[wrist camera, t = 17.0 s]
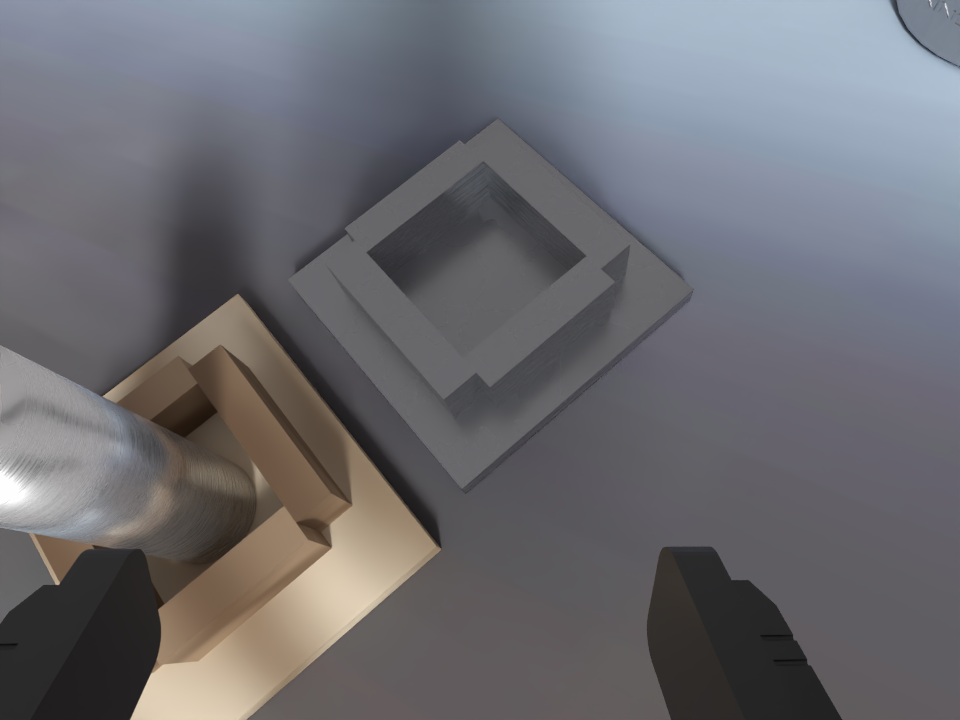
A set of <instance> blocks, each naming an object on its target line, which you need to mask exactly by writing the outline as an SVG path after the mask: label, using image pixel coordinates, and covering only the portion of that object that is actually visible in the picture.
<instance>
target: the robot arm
mask: <svg viewBox="0 0 960 720" xmlns="http://www.w3.org/2000/svg"><path fill="white" fill-rule="evenodd" d="M896 1H897V5H898V10H899V14H900V15H901V17H902V19H903V21H904V23H905V25H906V26H907V28H908V29H909V31H910V32H911V33H912V34H913V35H914V36H915V37H916V38H917V39H918V41H919V42H920V43H921V44H923V45H924V46H925V47H927V48H928V49H929V50H931V51H932V52H934V53H935V54H936V55H938V56H940V57H942V58H943V59H945V60H947V61H949V62H951V63H953V64H955V65H957V66H960V0H896ZM647 637H648V646H649V651H650V656H651V659H652V663H653V666H654V669H655V672H656V675H657V678H658V681H659V684H660V687H661V690H662V693H663V696H664V699H665V702H666V705H667V708H668V711H669V714H670V717H671V720H842V719H841V717H840V715H839V714H838V712H837V710H836V708H835V707H834V705H833V703H832V701H831V700H830V698H829V696H828V695H827V693H826V691H825V689H824V688H823V686H822V684H821V682H820V681H819V679H818V677H817V675H816V674H815V672H814V670H813V668H812V667H811V666H808V664H807V658H806V656H805V655H804V653H803V651H802V649H801V648H800V646H799V644H798V642H797V641H794V640H793V634H792V632H791V630H790V629H789V627H788V625H787V623H786V622H785V620H784V618H783V616H782V615H781V613H780V611H779V609H778V608H777V606H776V605H775V604H774V603H773V602H772V601H771V600H770V599H769V598H768V597H766V596H765V595H764V594H763V593H762V592H761V591H760V590H759V589H758V588H757V587H755V586H754V585H753V584H752V583H751V582H750V581H749V580H731V578H730V576H729V575H728V573H727V571H726V569H725V567H724V565H723V563H722V561H721V559H720V557H719V555H718V554H717V552H716V551H715V550H714V549H713V548H712V547H664V548H663V549H662V550H661V552H660V555H659V560H658V565H657V570H656V576H655V581H654V586H653V592H652V597H651V602H650V608H649V613H648V620H647ZM160 642H161V621H160V616H159V612H158V608H157V603H156V599H155V594H154V590H153V585H152V581H151V577H150V572H149V568H148V563H147V559H146V556H145V554H144V552H143V551H142V550H141V549H87V550H85V551H83V552H82V553H81V554H80V555H79V556H78V558H77V559H76V561H75V562H74V564H73V565H72V566H71V568H70V569H69V571H68V572H67V574H66V575H65V577H64V578H63V579H62V581H61V582H60V584H59V585H43V586H42V587H41V588H39V589H38V590H37V591H35V592H34V593H33V594H32V595H30V596H29V597H28V598H27V599H25V600H24V601H23V602H21V603H20V604H19V605H18V606H16V607H15V608H14V609H12V610H11V611H10V612H9V613H8V614H7V616H6V617H5V618H4V620H3V621H2V622H1V624H0V720H130V719H131V717H132V715H133V712H134V710H135V708H136V706H137V704H138V701H139V699H140V697H141V695H142V692H143V690H144V688H145V686H146V684H147V681H148V679H149V677H150V675H151V673H152V670H153V668H154V666H155V663H156V660H157V657H158V653H159V648H160Z"/></svg>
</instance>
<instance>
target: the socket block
mask: <svg viewBox="0 0 960 720" xmlns="http://www.w3.org/2000/svg"><path fill="white" fill-rule="evenodd" d="M344 229H345V231H346V232H347V235H345V236H344V237H343V238H341V239H340V240H339V241H338V242H336V243H335V244H334V245H332V246H331V247H330V248H328V249H327V250H326V251H325V252H323V253H322V254H321V255H319V256H318V257H317V258H315V259H314V260H313V261H311V262H310V263H309V264H308V265H306V266H305V267H304V268H302V269H301V270H300V271H298V272H297V273H296V274H295V275H293V276H292V277H291V278H289V279H288V281H289V283H290V284H291V285H292V286H293V287H294V289H295V290H296V291H297V292H298V294H299V295H300V296H301V297H302V298H303V300H304V301H305V302H306V303H307V304H308V306H309V307H310V308H311V309H312V310H313V312H314V313H315V314H316V315H317V316H318V318H319V319H320V320H321V321H322V322H323V324H324V325H325V326H326V327H327V328H328V330H329V331H330V332H331V333H332V334H333V336H334V337H335V338H336V339H337V340H338V342H339V343H340V344H341V345H342V346H343V348H344V349H345V350H346V351H347V352H348V354H349V355H350V356H351V357H352V358H353V360H354V361H355V362H356V363H357V364H358V366H359V367H360V368H361V369H362V370H363V371H364V373H365V374H366V375H367V376H368V377H369V379H370V380H371V381H372V382H373V383H374V385H375V386H376V387H377V388H378V389H379V391H380V392H381V393H382V394H383V395H384V397H385V398H386V399H387V400H388V401H389V403H390V404H391V405H392V406H393V407H394V409H395V410H396V411H397V412H398V413H399V415H400V416H401V417H402V418H403V419H404V421H405V422H406V423H407V424H408V425H409V427H410V428H411V429H412V430H413V431H414V433H415V434H416V435H417V436H418V437H419V439H420V440H421V441H422V442H423V443H424V445H425V446H426V447H427V448H428V449H429V451H430V452H431V453H432V454H433V455H434V457H435V458H436V459H437V460H438V461H439V463H440V464H441V465H442V466H443V467H444V469H445V470H446V471H447V472H448V473H449V475H450V476H451V477H452V478H453V479H454V481H455V482H456V483H457V484H458V485H459V487H460V488H461V489H462V490H463V491H464V493H465V494H466V493H467V492H468V491H470V490H471V489H472V488H473V487H474V486H475V485H476V484H478V483H479V482H480V481H481V480H482V479H483V478H485V477H486V476H487V475H488V474H489V473H490V472H492V471H493V470H494V469H495V468H496V467H497V466H498V465H500V464H501V463H502V462H503V461H504V460H505V459H507V458H508V457H509V456H510V455H511V454H512V453H514V452H515V451H516V450H517V449H518V448H519V447H520V446H522V445H523V444H524V443H525V442H526V441H527V440H529V439H530V438H531V437H532V436H533V435H534V434H536V433H537V432H538V431H539V430H540V429H541V428H542V427H544V426H545V425H546V424H547V423H548V422H549V421H551V420H552V419H553V418H554V417H555V416H556V415H558V414H559V413H560V412H561V411H562V410H563V409H564V408H566V407H567V406H568V405H569V404H570V403H571V402H573V401H574V400H575V399H576V398H577V397H578V396H580V395H581V394H582V393H583V392H584V391H585V390H586V389H588V388H589V387H590V386H591V385H592V384H593V383H595V382H596V381H597V380H598V379H599V378H600V377H602V376H603V375H604V374H605V373H606V372H607V371H608V370H610V369H611V368H612V367H613V366H614V365H615V364H617V363H618V362H619V361H620V360H621V359H622V358H624V357H625V356H626V355H627V354H628V353H629V352H630V351H632V350H633V349H634V348H635V347H636V346H637V345H639V344H640V343H641V342H642V341H643V340H644V339H646V338H647V337H648V336H649V335H650V334H651V333H652V332H654V331H655V330H656V329H657V328H658V327H659V326H661V325H662V324H663V323H664V322H665V321H666V320H668V319H669V318H670V317H671V316H672V315H673V314H674V313H676V312H677V311H678V310H679V309H680V308H681V307H683V306H684V305H685V304H686V303H687V302H688V301H690V298H691V296H692V293H693V290H694V289H693V288H692V287H691V286H690V285H688V284H687V283H686V282H685V281H684V280H683V279H682V278H680V277H679V276H678V275H677V274H676V273H675V272H674V271H672V270H671V269H670V268H669V267H668V266H667V265H666V264H664V263H663V262H662V261H661V260H660V259H659V258H657V257H656V256H655V255H654V254H653V253H652V252H651V251H649V250H648V249H647V248H646V247H645V246H644V245H643V244H641V243H640V242H639V241H638V240H637V239H636V238H635V237H633V236H632V235H631V234H630V233H629V232H628V231H627V230H625V229H624V228H623V227H622V226H621V225H620V224H619V223H617V222H616V221H615V220H614V219H613V218H612V217H610V216H609V215H608V214H607V213H606V212H605V211H604V210H602V209H601V208H600V207H599V206H598V205H597V204H596V203H594V202H593V201H592V200H591V199H590V198H589V197H588V196H586V195H585V194H584V193H583V192H582V191H581V190H580V189H578V188H577V187H576V186H575V185H574V184H573V183H572V182H570V181H569V180H568V179H567V178H566V177H565V176H563V175H562V174H561V173H560V172H559V171H558V170H557V169H555V168H554V167H553V166H552V165H551V164H550V163H549V162H547V161H546V160H545V159H544V158H543V157H542V156H541V155H539V154H538V153H537V152H536V151H535V150H534V149H533V148H531V147H530V146H529V145H528V144H527V143H526V142H525V141H523V140H522V139H521V138H520V137H519V136H518V135H516V134H515V133H514V132H513V131H512V130H511V129H510V128H508V127H507V126H506V125H505V124H504V123H503V122H502V121H500V120H499V119H496V120H495V121H494V122H493V123H491V124H490V125H489V126H487V127H486V128H485V129H483V130H482V131H481V132H480V133H478V134H477V135H476V136H474V137H473V138H472V139H470V140H469V141H468V142H467V143H465V144H464V143H463V142H462V141H461V140H459V141H458V142H457V143H455V144H454V145H453V146H451V147H450V148H449V149H447V150H446V151H445V152H444V153H442V154H441V155H440V156H438V157H437V158H436V159H434V160H433V161H432V162H430V163H429V164H428V165H427V166H425V167H424V168H423V169H421V170H420V171H419V172H417V173H416V174H415V175H413V176H412V177H411V178H410V179H408V180H407V181H406V182H404V183H403V184H402V185H400V186H399V187H398V188H397V189H395V190H394V191H393V192H391V193H390V194H389V195H387V196H386V197H385V198H383V199H382V200H381V201H380V202H378V203H377V204H376V205H374V206H373V207H372V208H370V209H369V210H368V211H366V212H365V213H364V214H363V215H361V216H360V217H359V218H357V219H356V220H355V221H353V222H352V223H351V224H349V225H348V226H347V227H346V228H344Z"/></svg>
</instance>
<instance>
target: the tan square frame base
mask: <svg viewBox="0 0 960 720" xmlns="http://www.w3.org/2000/svg"><path fill="white" fill-rule="evenodd" d="M103 397H104V398H106V399H108V400H110V401H112V402H114V403H116V404H118V405H120V406H122V407H124V408H126V409H128V410H130V411H132V412H134V413H136V414H138V415H140V416H142V417H144V418H146V419H148V420H150V421H152V422H154V423H156V424H158V425H160V426H162V427H164V428H166V429H168V430H170V431H172V432H174V433H176V434H178V435H180V436H182V437H184V438H186V439H188V440H190V441H192V442H194V443H196V444H198V445H200V446H202V447H204V448H206V449H208V450H210V451H212V452H214V453H216V454H218V455H220V456H222V457H223V458H225V459H227V460H229V461H231V462H233V463H235V464H237V465H239V466H240V467H241V468H242V469H243V470H245V471H246V473H247V474H248V475H249V477H250V479H251V480H252V482H253V485H254V488H255V492H256V512H255V516H254V520H253V523H252V525H251V528H250V530H249V531H248V533H247V535H246V536H245V538H244V539H243V540H242V541H241V542H240V543H238V544H237V545H236V546H235V547H233V548H232V549H231V550H230V551H229V552H227V553H226V554H225V555H224V556H223V557H221V558H220V559H218V560H215V561H213V562H209V563H203V564H193V563H187V562H182V561H177V560H171V559H166V558H161V557H155V556H150V555H145V556H146V559H147V563H148V568H149V572H150V577H151V581H152V585H153V590H154V594H155V599H156V603H157V608H158V612H159V616H160V621H161V642H160V648H159V653H158V657H157V660H156V663H155V666H154V668H153V670H152V673H151V675H150V677H149V679H148V681H147V684H146V686H145V688H144V690H143V692H142V695H141V697H140V699H139V701H138V704H137V706H136V708H135V710H134V712H133V715H132V717H131V719H130V720H247V719H248V718H249V717H250V716H251V715H252V714H253V713H255V712H256V711H257V710H258V709H259V708H260V707H261V706H263V705H264V704H265V703H266V702H267V701H268V700H270V699H271V698H272V697H273V696H274V695H275V694H276V693H278V692H279V691H280V690H281V689H282V688H283V687H284V686H286V685H287V684H288V683H289V682H290V681H291V680H292V679H294V678H295V677H296V676H297V675H298V674H299V673H300V672H302V671H303V670H304V669H305V668H306V667H307V666H308V665H310V664H311V663H312V662H313V661H314V660H315V659H316V658H318V657H319V656H320V655H321V654H322V653H323V652H324V651H326V650H327V649H328V648H329V647H330V646H331V645H333V644H334V643H335V642H336V641H337V640H338V639H339V638H341V637H342V636H343V635H344V634H345V633H346V632H347V631H349V630H350V629H351V628H352V627H353V626H354V625H355V624H357V623H358V622H359V621H360V620H361V619H362V618H363V617H365V616H366V615H367V614H368V613H369V612H370V611H371V610H373V609H374V608H375V607H376V606H377V605H378V604H379V603H381V602H382V601H383V600H384V599H385V598H386V597H387V596H389V595H390V594H391V593H392V592H393V591H394V590H396V589H397V588H398V587H399V586H400V585H401V584H402V583H404V582H405V581H406V580H407V579H408V578H409V577H410V576H412V575H413V574H414V573H415V572H416V571H417V570H418V569H420V568H421V567H422V566H423V565H424V564H425V563H426V562H428V561H429V560H430V559H431V558H432V557H433V556H434V555H436V554H437V553H438V552H439V551H440V550H441V548H440V547H439V545H438V544H437V543H436V542H435V540H434V539H433V538H432V537H431V535H430V534H429V533H428V531H427V530H426V529H425V528H424V526H423V525H422V524H421V523H420V521H419V520H418V519H417V517H416V516H415V515H414V514H413V512H412V511H411V510H410V509H409V507H408V506H407V505H406V504H405V502H404V501H403V500H402V498H401V497H400V496H399V495H398V493H397V492H396V491H395V490H394V488H393V487H392V486H391V485H390V483H389V482H388V481H387V479H386V478H385V477H384V476H383V474H382V473H381V472H380V471H379V469H378V468H377V467H376V465H375V464H374V463H373V462H372V460H371V459H370V458H369V457H368V455H367V454H366V453H365V452H364V450H363V449H362V448H361V446H360V445H359V444H358V443H357V441H356V440H355V439H354V438H353V436H352V435H351V434H350V432H349V431H348V430H347V429H346V427H345V426H344V425H343V424H342V422H341V421H340V420H339V419H338V417H337V416H336V415H335V413H334V412H333V411H332V410H331V408H330V407H329V406H328V405H327V403H326V402H325V401H324V399H323V398H322V397H321V396H320V394H319V393H318V392H317V391H316V389H315V388H314V387H313V386H312V384H311V383H310V382H309V380H308V379H307V378H306V377H305V375H304V374H303V373H302V372H301V370H300V369H299V368H298V366H297V365H296V364H295V363H294V361H293V360H292V359H291V358H290V356H289V355H288V354H287V353H286V351H285V350H284V349H283V347H282V346H281V345H280V344H279V342H278V341H277V340H276V339H275V337H274V336H273V335H272V333H271V332H270V331H269V330H268V328H267V327H266V326H265V325H264V323H263V322H262V321H261V320H260V318H259V317H258V316H257V314H256V313H255V312H254V311H253V309H252V308H251V307H250V306H249V304H248V303H247V302H246V301H245V300H244V299H243V298H242V297H241V296H240V295H239V294H237V295H235V296H234V297H233V298H231V299H230V300H229V301H227V302H226V303H225V304H223V305H222V306H221V307H220V308H218V309H217V310H216V311H214V312H213V313H212V314H210V315H209V316H208V317H206V318H205V319H204V320H202V321H201V322H200V323H199V324H197V325H196V326H195V327H193V328H192V329H191V330H189V331H188V332H187V333H185V334H184V335H183V336H181V337H180V338H179V339H177V340H176V341H175V342H174V343H172V344H171V345H170V346H168V347H167V348H166V349H164V350H163V351H162V352H160V353H159V354H158V355H156V356H155V357H154V358H153V359H151V360H150V361H149V362H147V363H146V364H145V365H143V366H142V367H141V368H139V369H138V370H137V371H135V372H134V373H133V374H132V375H130V376H129V377H128V378H126V379H125V380H124V381H122V382H121V383H120V384H118V385H117V386H116V387H114V388H113V389H112V390H110V391H109V392H108V393H107V394H105V395H104V396H103ZM29 534H30V536H31V538H32V540H33V542H34V544H35V545H36V547H37V549H38V551H39V553H40V555H41V557H42V559H43V561H44V563H45V564H46V566H47V568H48V570H49V572H50V574H51V576H52V578H53V580H54V582H55V584H56V585H59V584H60V582H61V581H62V579H63V578H64V577H65V575H66V574H67V572H68V571H69V569H70V568H71V566H72V565H73V564H74V562H75V561H76V559H77V558H78V556H79V555H80V554H81V553H82V552H83V551H85V550H87V549H113V548H108V547H102V546H97V545H92V544H86V543H81V542H76V541H71V540H65V539H60V538H55V537H49V536H44V535H39V534H33V533H29Z"/></svg>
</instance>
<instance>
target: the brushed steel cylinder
mask: <svg viewBox="0 0 960 720" xmlns="http://www.w3.org/2000/svg"><path fill="white" fill-rule="evenodd" d="M255 512H256V492H255V488H254V485H253V482H252V480H251V479H250V477H249V475H248V474H247V473H246V471H245V470H243V469H242V468H241V467H240V466H239V465H237V464H235V463H233V462H231V461H229V460H227V459H225V458H223V457H222V456H220V455H218V454H216V453H214V452H212V451H210V450H208V449H206V448H204V447H202V446H200V445H198V444H196V443H194V442H192V441H190V440H188V439H186V438H184V437H182V436H180V435H178V434H176V433H174V432H172V431H170V430H168V429H166V428H164V427H162V426H160V425H158V424H156V423H154V422H152V421H150V420H148V419H146V418H144V417H142V416H140V415H138V414H136V413H134V412H132V411H130V410H128V409H126V408H124V407H122V406H120V405H118V404H116V403H114V402H112V401H110V400H108V399H106V398H104V397H102V396H100V395H98V394H96V393H94V392H92V391H90V390H88V389H86V388H84V387H82V386H80V385H78V384H76V383H74V382H72V381H70V380H68V379H66V378H64V377H62V376H60V375H58V374H56V373H54V372H52V371H50V370H48V369H46V368H44V367H42V366H40V365H38V364H36V363H34V362H32V361H30V360H28V359H27V358H25V357H23V356H21V355H19V354H17V353H15V352H13V351H11V350H9V349H7V348H5V347H3V346H1V345H0V527H2V528H7V529H12V530H17V531H23V532H28V533H33V534H39V535H44V536H49V537H55V538H60V539H65V540H71V541H76V542H81V543H86V544H92V545H97V546H102V547H108V548H113V549H141V550H142V551H143V552H144V554H145V555H150V556H155V557H161V558H166V559H171V560H177V561H182V562H187V563H193V564H203V563H209V562H213V561H215V560H218V559H220V558H221V557H223V556H224V555H225V554H226V553H227V552H229V551H230V550H231V549H232V548H233V547H235V546H236V545H237V544H238V543H240V542H241V541H242V540H243V539H244V538H245V536H246V535H247V533H248V531H249V530H250V528H251V525H252V523H253V520H254V516H255Z"/></svg>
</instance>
